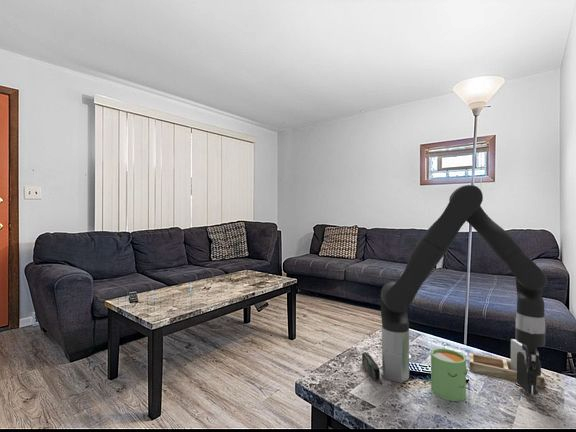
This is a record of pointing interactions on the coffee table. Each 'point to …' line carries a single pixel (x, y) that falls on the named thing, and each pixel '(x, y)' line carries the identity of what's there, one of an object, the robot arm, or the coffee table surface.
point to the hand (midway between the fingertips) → (529, 378)
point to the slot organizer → (497, 368)
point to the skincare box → (514, 353)
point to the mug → (448, 374)
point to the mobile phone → (371, 367)
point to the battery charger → (525, 374)
